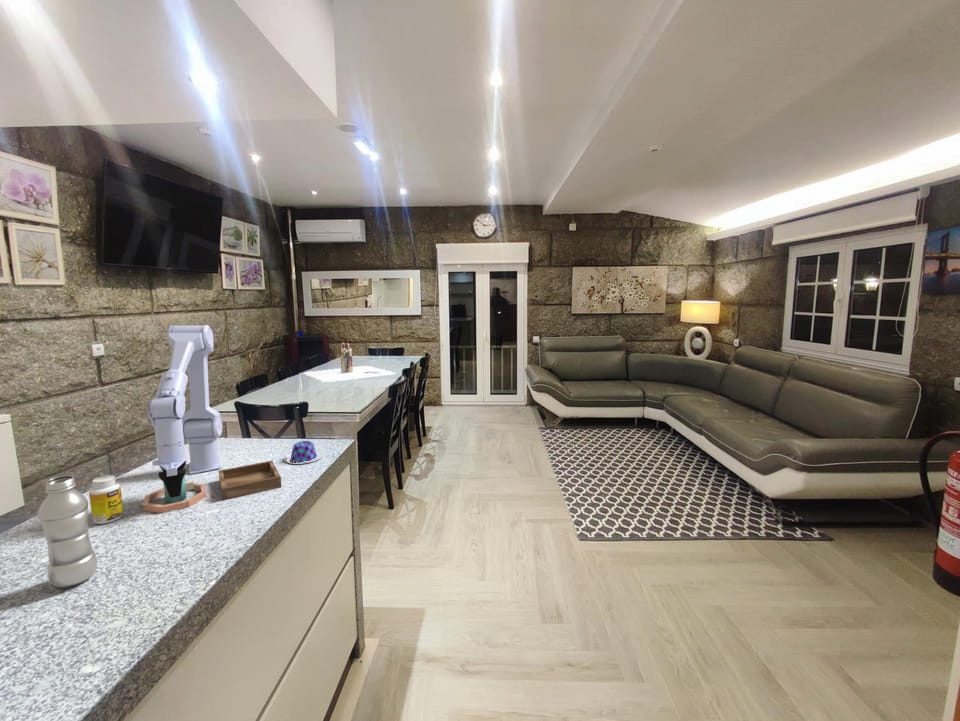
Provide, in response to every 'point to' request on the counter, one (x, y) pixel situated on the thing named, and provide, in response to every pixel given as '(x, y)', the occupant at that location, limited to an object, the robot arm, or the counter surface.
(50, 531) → the plastic bottle
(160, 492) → the collar
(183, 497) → the teal tapered cylinder
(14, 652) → the counter surface
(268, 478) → the tray
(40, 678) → the counter surface
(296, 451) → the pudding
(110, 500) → the supplement bottle
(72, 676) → the counter surface
